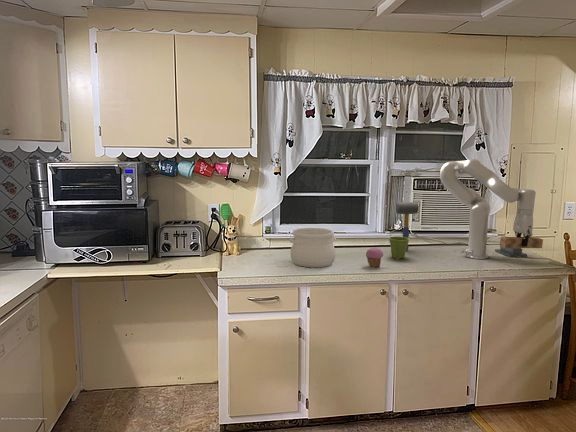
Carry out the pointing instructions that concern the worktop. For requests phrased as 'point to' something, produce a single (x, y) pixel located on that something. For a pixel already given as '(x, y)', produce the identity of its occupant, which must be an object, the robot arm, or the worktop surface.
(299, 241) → the pot
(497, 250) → the fulcrum stand
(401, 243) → the plant pot
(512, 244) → the walnut rod
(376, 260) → the cupcake
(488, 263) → the worktop surface
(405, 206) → the rubber mallet
